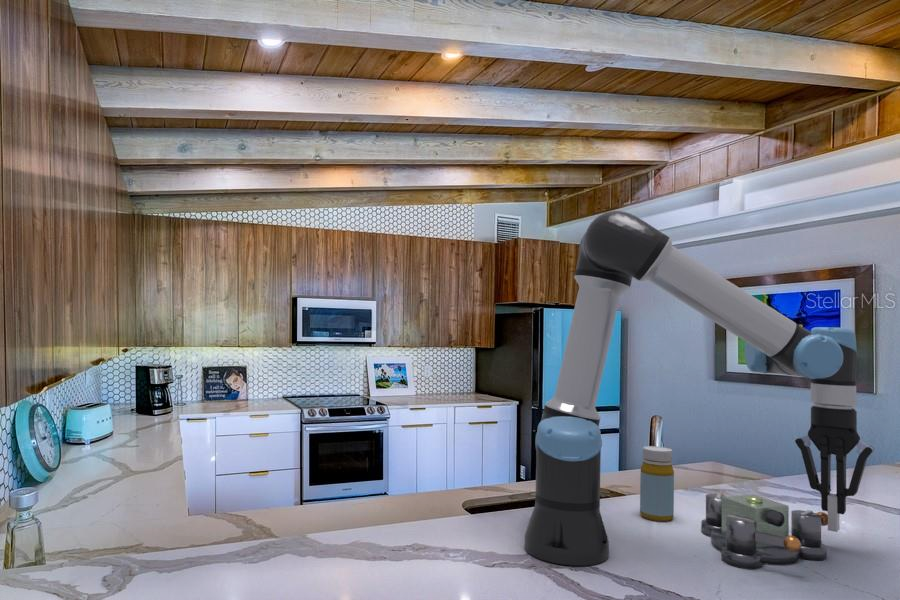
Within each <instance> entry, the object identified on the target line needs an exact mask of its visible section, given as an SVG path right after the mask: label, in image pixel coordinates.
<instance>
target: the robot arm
mask: <svg viewBox="0 0 900 600" xmlns="http://www.w3.org/2000/svg"><path fill="white" fill-rule="evenodd" d="M573 277H574V280H575V282H576V283H577V284H578V292H577V295H576V300H575V305H574V308H573V313H572V317H571V322H570V326H569V330H568V336H567V339H566V343H565V348H564V353H563V357H562V359H561V360H562V362H561V365H560V369H559V374H558V377H557V383H556V387H555V391H554V396H553V397H552V398H551V399H549V400H548V401H546V402H545V404H544V407H543V411H542V415H541V419H540V422H539V423H538V425H537V430H536V431H537V432H536V433H535V438H534V439H535V441H534V443H535V447H534V448H535V451H536V452H535V453H536V457H535V459H536V460H535V465H536V466H535V501H534V506H533V510H532V513H531V516H530V519H529V522H528V525H527V527H526V530H525V533H524V549H525V551H526V552H527V553H528V554H530V555H531V556H533V557H534V558H537V559H539V560H542V561H545V562H548V563H553V564H556V565H557V564H558V565H564V566H578V567H579V566H582V567H583V566H592V565H597V564H600V563H603V562H605V561H607V559H608V558H609V556H610V542H609V538H608V535H607V532H606V529H605V524H604V521H603V518H602V514H601V508H600V506H601V502H600V501H601V462H602V461H601V460H602V458H601V454H602V451H601V450H602V446H603V440H602V436H601V435H602V434H601V429H600V427H599V426H600V421H601V416H600V414H599V412H598V411H597V408H596V405H597V399H598V396H599V392H600V388H601V382H602V378H603V374H604V369H605V365H606V360H607V357H608V352H609V347H610V343H611V339H612V335H613V330H614V326H615V321H616V316H617V312H618V307H619V303H620V300H621V296H622V294H624V293H626V292H628V291H629V290H630V289H631V286H632V281H633V278H634V279H636V280H637V281H638V282H643V281H644V282H645V281H649V282H650V283H652V284H653V285H655V286H656V287H658V288H660V289H661V290H663V291H665V292H666V293H668V294H670V295H671V296H673V297H674V298H675V299H678V300H679V301H681V302H682V303H684V304H685V305H687V306H688V307H690V308H692V309H693V310H694V311H696V312H697V313H700V314H701V315H702V316H704V317H706V318H707V319H709V320H711V321H712V322H714V323H715V324H717V325H719V326H720V327H722V328H723V329H724V330H726V331H728V332H729V333H731V334H733V335H734V336H736V337H738V338H739V339H741V340H742V341H744V342H745V346H744V361H745V364H746V367H747V369H748V370H749V371H751V372H753V373H762V374H766V375H767V374H776V375H777V374H778V375H788V376H795V377H801V378H806V379H809V380H810V403H812V404H813V405H812V406H811V407H810V428H809V430H808V432H807V434H806V435H804V436H802V437H798V438H796V439H795V440H794V442H795V444H796V446H797V447H798V448H799V451H800V452H801V456H802V460H803V463H804V467H805V472H806V475H807V479H808V483H809V486H810V488H811V489H812V490H815V491H817V492H819V493H820V495H821V499H820V500H821V502H820V503H821V505H820V507H821V508H820V509H821V510H822V512H823V511H824V512H827V515H828V525H827V531H831V532H835V533H837V532H838V531H840V515H844V514H845V513H846V511H847V506H846V505H847V497H854V496H855V495H857V493H858V491H859V488H860V484H861V480H862V477H863V474H864V470H865V467H866V464H867V461H868V458H869V457H870V456H871V454H872V453H874V451H875V448H874V447H873V446H872V445H867V444H866V443H864V442H863V441H862V440H861V438H860V435H859V432H858V427H857V426H858V421H857V420H858V419H857V418H858V417H857V415H858V412H857V410H856V409H855V408H854V407H856V406H857V402H858V401H857V353H858V350H857V349H858V348H857V339H856V332H855V331H854V330H853V329H852V328H850V327H849V328H848V327H837V326H836V327H832V326H831V327H829V326H827V327H826V326H824V327H823V326H820V327H819V326H818V327H813V328H811V329H810V330H808V329H806V328H805V327H803V326H802V325H800V324H798V323H797V322H795V321H793V320H792V319H790V318H788V317H787V316H785V315H783V314H782V313H780V312H779V311H777V310H776V309H774V308H772V307H771V306H769V305H768V304H766V303H764V302H763V301H762V300H760V299H758V298H756V297H755V296H753V295H751V294H750V293H748V292H747V291H745V290H743V289H742V288H740V287H739V286H737V285H736V284H734V283H733V282H731V281H729V280H728V279H726V278H725V277H723V276H721V275H720V274H718V273H717V272H715V271H713V270H711V269H710V268H708V266H705V265H704V264H702V263H701V262H699V261H698V260H695V259H694V258H692V257H691V256H689V255H688V254H686V253H685V252H683V251H681V250H680V249H678V248H677V247H675V246H674V245H673V241H672V238H671V237H670V236H668V235H667V234H666V233H663V232H662V231H660V230H658V229H657V228H655V227H654V226H652V225H651V224H650V223H648V222H646V221H644V220H643V219H642V218H640V217H638V216H636V215H634V214H632V213H629V212H626V211H621V210H612V211H606V212H604V213H602V214H600V215H599V216H598V215H597V216H596V218H594V219H593V220H592V221H591V222H590V224H589V225H588V227H587V229H586V232H585V233H584V235H583V236H582V238H581V240H580V243H579V247H578V258H577V263H576V267H575V271H574V276H573ZM811 442H812V443H813V445H814V446H815V447H816V448H817V450H818V451H819V452H820V454H819V455H820V456H819V457H820V478H819V477H818V476H819V475H818V473H817V469H816V466H815V465H816V464H815V460H814V457H813V453H812V451H811V450H812V449H811V448H810V447H811V445H812V444H811ZM855 447H857V450H856V452H857V453H858V457H857V459H856V463H855V466H854V468H853V472H852V476H851V480H850V482H849V486H848V488H847V456H848V454H850V453H851V451H852V450H853V449H854V448H855ZM832 455H834V456H835V461H836V462H835V463H836V465H835V466H836V475H835V476H836V479H835V480H836V493H831V491H832V489H831V483H832V482H831V481H832V479H831V465H832V464H831V461H832ZM819 479H820V480H819Z"/></svg>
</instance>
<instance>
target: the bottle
mask: <svg viewBox="0 0 900 600" xmlns="http://www.w3.org/2000/svg"><path fill="white" fill-rule="evenodd" d="M672 460H673V450H672V448H669V447H665V446H658V445H657V446H656V445H646V446H643V447H642V464H641V466H640V483H639V484H640V487H639V489H640V490H639V491H640V493H639V513H640V515H641V516H642V518H644V519H646V520H649V521H652V522H653V521H654V522H660V523H661V522H665V523H666V522H670V521H671V520H673V518H674V512H675V506H674V505H675V502H674V501H675V499H674V498H675V496H674V495H675V471H674V467H673V461H672Z"/></svg>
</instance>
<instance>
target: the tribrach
mask: <svg viewBox="0 0 900 600" xmlns="http://www.w3.org/2000/svg"><path fill="white" fill-rule="evenodd" d="M728 515H732V516H743V517H748V518H751V519H753V520H755V521H756V531H760V532H765V533H769V534H774V535H779V536H783V537H786V536H790V535H789V531H790V530H789V529H790V528H789V522H790V521H789V520H790V519H789V515H790V514H789V505H787V504H784V503H781V502H778V501H774V500H771V499H768V498H766V497H763V496H759V495H757V494H754V493H753V494H742V495H725V496H724V497H722V526H715V525H711V524H709V523H707V522H706V518H704V519H702V520H701V524H700V525H701V530H700V531H701V533H702V534H703V535H705V536H708V537H710V539H711V541H710V543H711V544H710V545H711V546H712V547H713V548H714V549H716V550H717V551H719V552H720V555H721V558H720V559H721V561H722V562H724V563H725V564H727V565H729V566H732V567H735V568H740V569H746V570H757V569H760V568H762V564H765V565H778V566H780V565H781V566H782V565H783V566H785V565H792V564H796V563H798V562H799V561H800V560H801V559H802V560H807V561H813V562H814V561H815V562H822V561H826V560H827V556H828V555H827V554H828V553H827V552H828V551H827V545H826V544H824V543H822V542H821V546H820V547H810V546H804V545H801V548H800V550H798V551H797V552H791V551H789V550H787V549H786V548H785V547H781V546H777V545H773V544H768V543H764V542H760V541H756V553H755V554H741V553H736V552H733V551H731V550H729V549H727V548H726V517H727V516H728Z"/></svg>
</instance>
